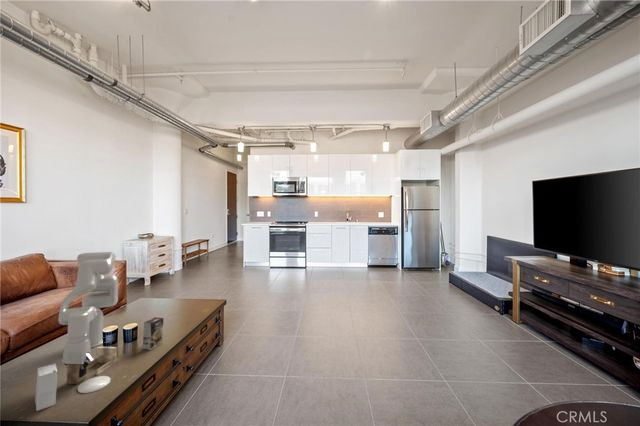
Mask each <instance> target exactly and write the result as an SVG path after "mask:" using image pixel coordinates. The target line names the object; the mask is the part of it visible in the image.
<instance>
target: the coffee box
mask: <svg viewBox="0 0 640 426" xmlns="http://www.w3.org/2000/svg"><path fill="white" fill-rule="evenodd" d="M142 336H143V337H142V339H143V340H142V349H143V350H148V351H151V350H153V349H154V350H155V348H156V347H159V346H160V345H162V344H163V340H164V338H163V337H164V317H156V316H155V317H153V318H151V319H149V320H147V321H144V322H143V335H142Z"/></svg>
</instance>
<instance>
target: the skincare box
mask: <svg viewBox="0 0 640 426" xmlns="http://www.w3.org/2000/svg"><path fill="white" fill-rule="evenodd" d="M36 369H37V374H36V387H35V399H34V403H35V407H36V408H35V409H36V410H35V411H36V412H38V411H42V410H44V409H46V408H49V407H52V406H55V405H56V398H57V385H58V371H59V370H58V369H57V364H56V363H52V364H48V365H44V366H41V367H38V368H36Z"/></svg>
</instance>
